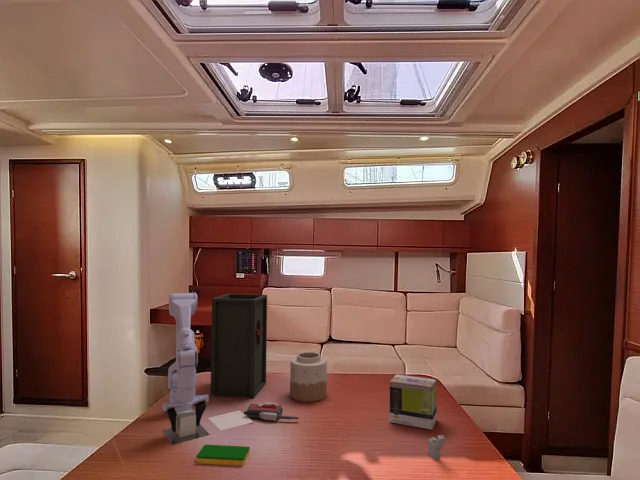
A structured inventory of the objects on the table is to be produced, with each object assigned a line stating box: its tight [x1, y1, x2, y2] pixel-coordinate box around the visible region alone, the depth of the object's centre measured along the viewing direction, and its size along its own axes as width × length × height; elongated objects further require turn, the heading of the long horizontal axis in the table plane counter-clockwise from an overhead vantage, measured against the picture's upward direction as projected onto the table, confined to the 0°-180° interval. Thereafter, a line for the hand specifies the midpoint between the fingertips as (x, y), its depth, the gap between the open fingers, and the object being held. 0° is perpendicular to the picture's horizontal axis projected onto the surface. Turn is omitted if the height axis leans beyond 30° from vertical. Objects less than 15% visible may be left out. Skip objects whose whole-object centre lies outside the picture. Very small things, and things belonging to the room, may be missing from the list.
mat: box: [208, 410, 255, 432], centre depth 143 cm, size 12×12×1 cm
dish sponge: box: [195, 444, 251, 466], centre depth 119 cm, size 7×14×2 cm, turn 86°
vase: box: [289, 351, 328, 403], centre depth 170 cm, size 15×15×17 cm
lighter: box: [428, 434, 446, 461], centre depth 120 cm, size 7×2×8 cm, turn 11°
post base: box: [161, 424, 211, 446], centre depth 133 cm, size 12×12×4 cm
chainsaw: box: [243, 401, 299, 422], centre depth 147 cm, size 9×4×20 cm
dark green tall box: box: [210, 293, 268, 399], centre depth 176 cm, size 18×18×40 cm
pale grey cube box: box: [176, 410, 196, 437], centre depth 133 cm, size 5×5×6 cm
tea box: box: [389, 374, 438, 431], centre depth 145 cm, size 15×10×15 cm, turn 65°
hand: (185, 427), depth 133 cm, fingers open, 7 cm apart
